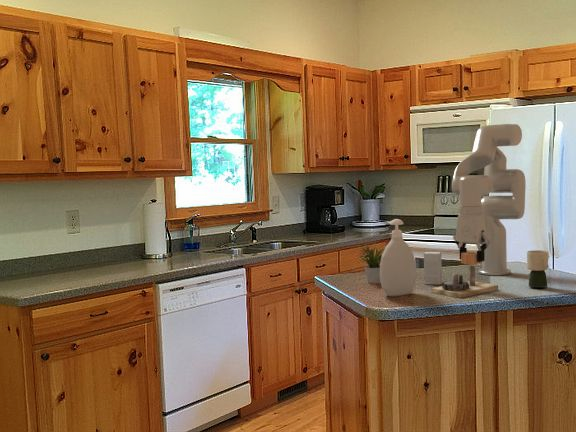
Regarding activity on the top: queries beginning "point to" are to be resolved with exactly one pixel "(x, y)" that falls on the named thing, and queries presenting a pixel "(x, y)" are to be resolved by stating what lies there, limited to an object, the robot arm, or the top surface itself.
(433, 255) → the skincare box
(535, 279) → the character mug
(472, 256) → the loose gear
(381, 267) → the soap bottle
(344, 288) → the top surface
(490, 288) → the gear board
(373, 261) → the house plant
